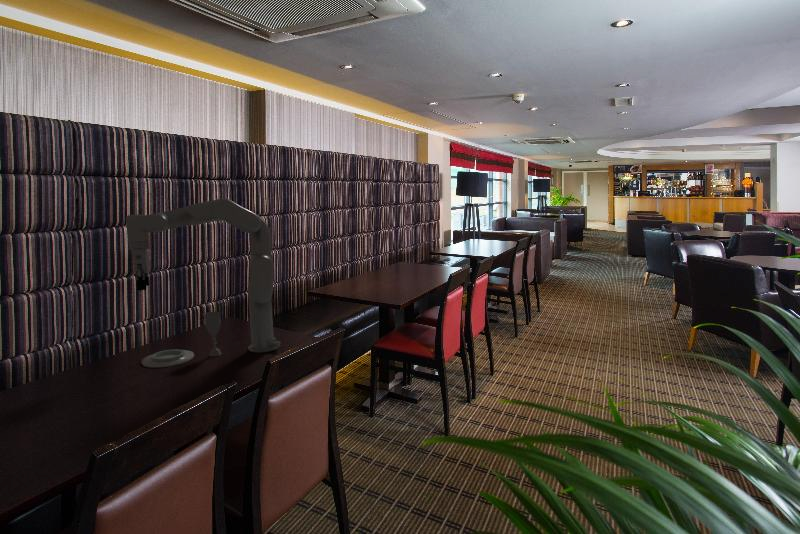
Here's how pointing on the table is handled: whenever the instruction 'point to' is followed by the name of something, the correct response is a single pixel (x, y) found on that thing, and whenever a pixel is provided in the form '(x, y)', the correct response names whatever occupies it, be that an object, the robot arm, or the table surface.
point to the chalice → (213, 329)
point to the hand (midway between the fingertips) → (143, 287)
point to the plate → (158, 365)
